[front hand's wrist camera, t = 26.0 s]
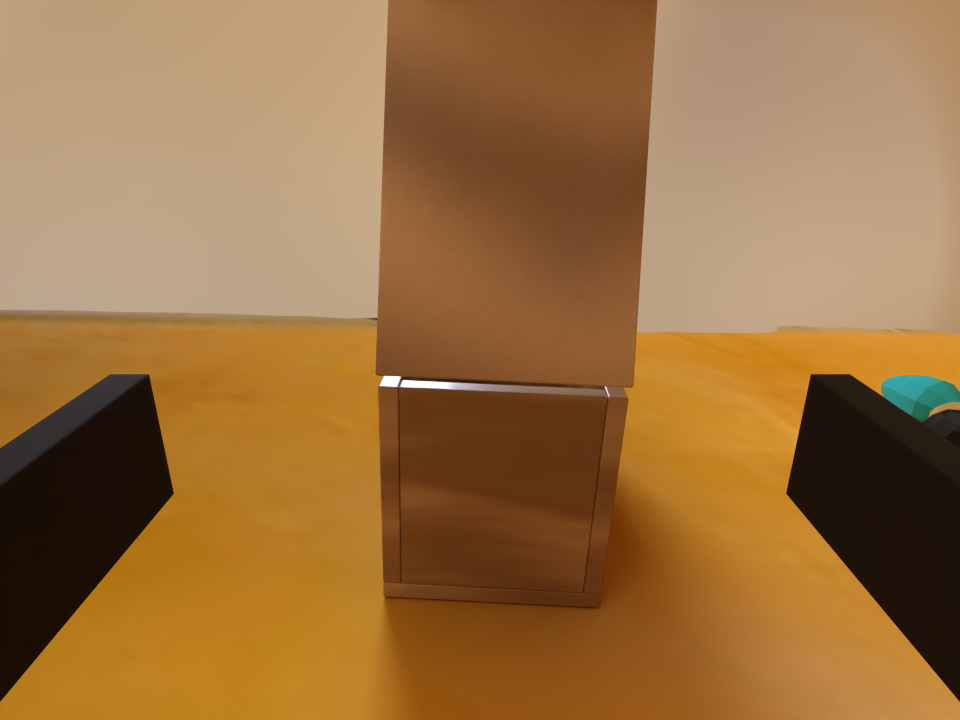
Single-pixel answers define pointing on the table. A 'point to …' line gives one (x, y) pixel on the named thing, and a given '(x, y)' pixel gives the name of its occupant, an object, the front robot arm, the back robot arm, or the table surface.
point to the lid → (514, 189)
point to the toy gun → (927, 402)
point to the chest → (497, 489)
